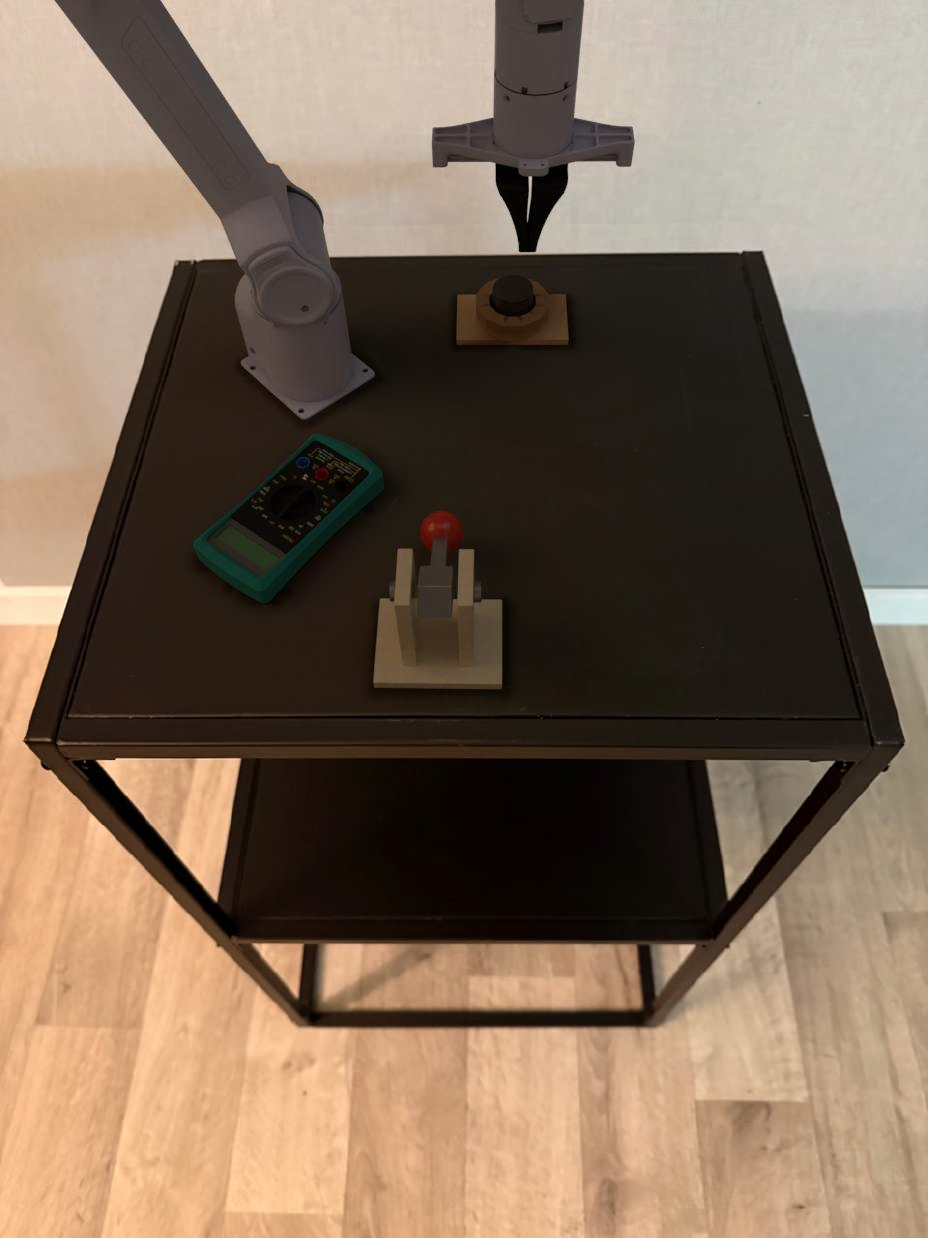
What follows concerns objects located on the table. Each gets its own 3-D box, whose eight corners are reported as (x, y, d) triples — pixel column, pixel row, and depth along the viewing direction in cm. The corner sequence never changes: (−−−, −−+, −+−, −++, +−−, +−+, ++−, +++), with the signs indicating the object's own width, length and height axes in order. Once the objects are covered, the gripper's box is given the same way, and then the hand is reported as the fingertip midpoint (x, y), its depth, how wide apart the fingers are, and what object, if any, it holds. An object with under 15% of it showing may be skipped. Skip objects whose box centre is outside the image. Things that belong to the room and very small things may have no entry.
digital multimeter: (392, 486, 76) (389, 462, 74) (265, 611, 70) (257, 589, 68) (324, 446, 79) (319, 421, 76) (195, 563, 72) (185, 540, 70)
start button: (492, 317, 83) (492, 301, 82) (492, 289, 85) (492, 273, 84) (533, 317, 83) (534, 301, 82) (532, 289, 85) (533, 273, 84)
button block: (456, 347, 84) (455, 325, 82) (457, 298, 88) (457, 276, 86) (568, 347, 84) (570, 325, 82) (565, 298, 88) (567, 275, 85)
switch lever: (422, 542, 72) (421, 503, 70) (464, 542, 72) (464, 503, 70) (410, 623, 61) (409, 580, 60) (459, 623, 61) (459, 580, 60)
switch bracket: (381, 606, 70) (368, 531, 62) (501, 607, 70) (504, 532, 62) (374, 690, 67) (360, 622, 59) (502, 691, 66) (505, 623, 58)
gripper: (427, 106, 62) (435, 277, 74) (648, 105, 62) (621, 277, 73) (430, 48, 66) (437, 220, 77) (639, 47, 65) (615, 219, 77)
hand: (527, 244), depth 76 cm, fingers closed
